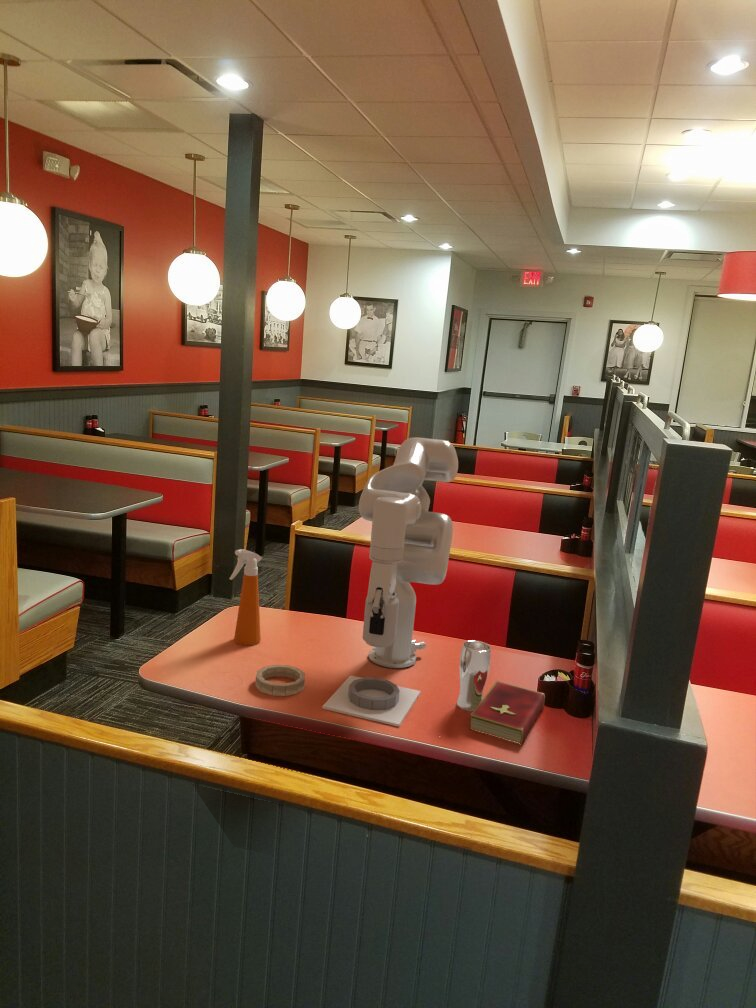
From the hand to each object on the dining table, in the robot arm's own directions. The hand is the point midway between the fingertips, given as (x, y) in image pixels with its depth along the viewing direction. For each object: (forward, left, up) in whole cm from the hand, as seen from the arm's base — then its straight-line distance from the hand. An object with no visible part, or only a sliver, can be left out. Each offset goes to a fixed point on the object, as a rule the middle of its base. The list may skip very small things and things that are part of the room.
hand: (379, 627), depth 165 cm
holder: (0, 0, -18) cm, 18 cm away
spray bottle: (+14, -43, -18) cm, 49 cm away
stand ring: (+16, -16, -18) cm, 29 cm away
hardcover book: (-24, +20, -19) cm, 36 cm away
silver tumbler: (-20, +11, -18) cm, 29 cm away
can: (0, 0, -4) cm, 4 cm away
